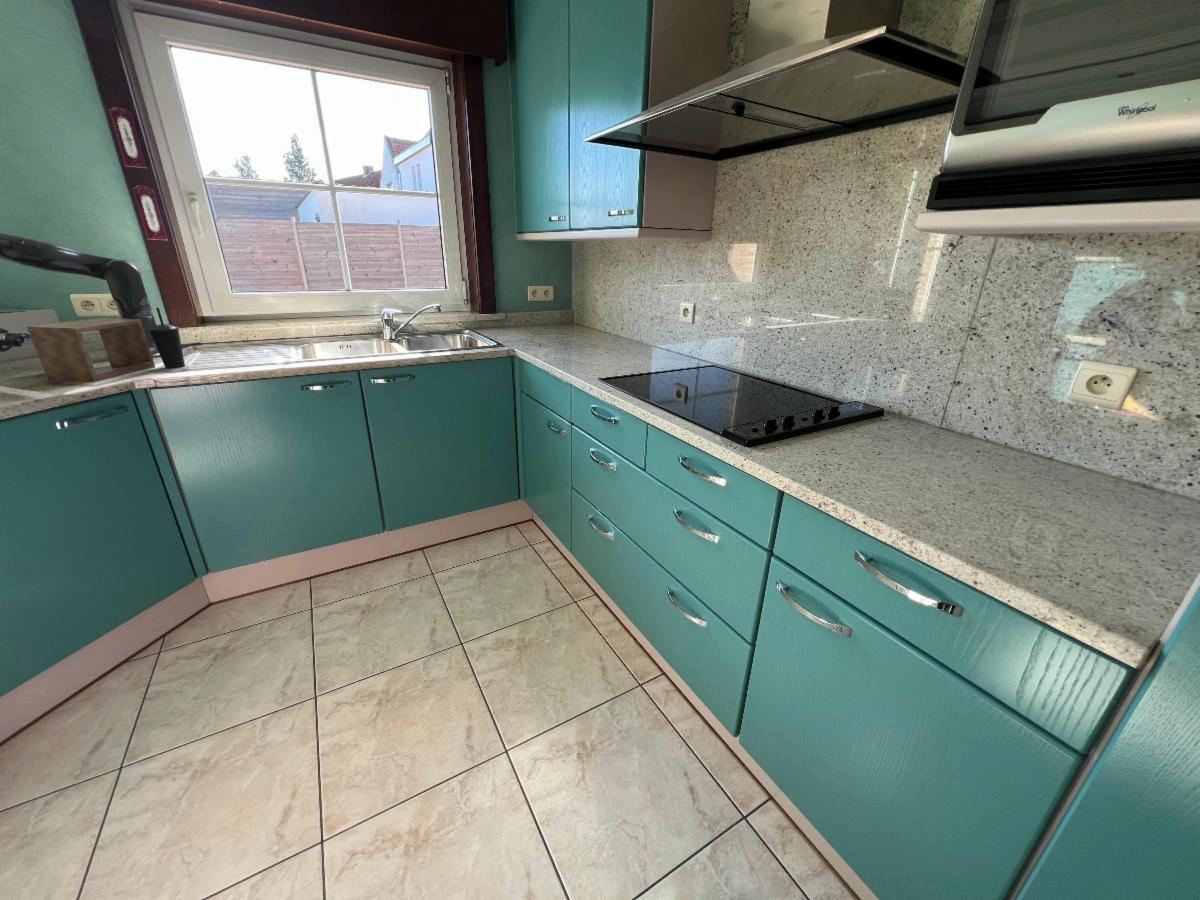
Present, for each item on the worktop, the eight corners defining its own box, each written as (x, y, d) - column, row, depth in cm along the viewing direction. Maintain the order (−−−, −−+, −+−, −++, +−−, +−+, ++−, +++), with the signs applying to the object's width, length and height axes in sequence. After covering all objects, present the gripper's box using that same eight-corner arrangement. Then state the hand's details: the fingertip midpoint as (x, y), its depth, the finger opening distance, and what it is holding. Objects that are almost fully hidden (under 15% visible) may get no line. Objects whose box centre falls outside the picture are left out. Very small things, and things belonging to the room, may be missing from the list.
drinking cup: (174, 367, 165) (156, 306, 158) (196, 368, 165) (179, 307, 158) (154, 372, 158) (134, 308, 151) (177, 373, 158) (158, 309, 151)
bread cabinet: (49, 383, 143) (26, 326, 137) (115, 369, 161) (98, 318, 155) (95, 385, 142) (74, 328, 136) (156, 370, 161) (140, 319, 155)
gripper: (-51, 329, 141) (3, 331, 140) (7, 323, 154) (56, 324, 154) (-39, 355, 144) (14, 357, 143) (17, 346, 157) (65, 348, 156)
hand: (36, 340), depth 148 cm, fingers open, 8 cm apart
